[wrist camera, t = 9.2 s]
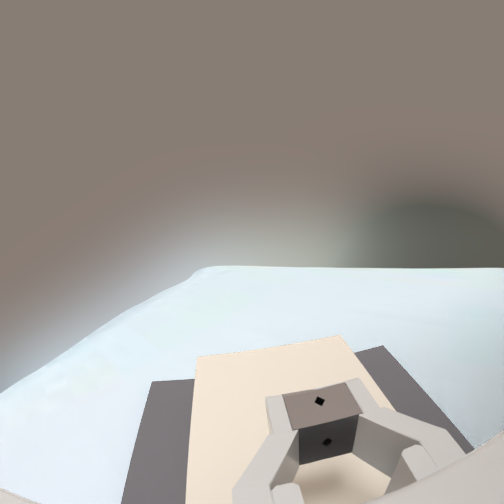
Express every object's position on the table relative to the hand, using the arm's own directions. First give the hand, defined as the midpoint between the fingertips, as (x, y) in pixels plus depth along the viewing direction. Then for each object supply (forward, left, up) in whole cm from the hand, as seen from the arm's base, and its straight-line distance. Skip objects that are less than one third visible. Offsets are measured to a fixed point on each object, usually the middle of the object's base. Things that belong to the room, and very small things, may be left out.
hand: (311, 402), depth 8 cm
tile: (-2, +3, -5) cm, 6 cm away
